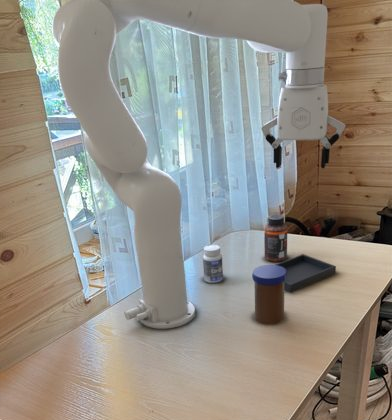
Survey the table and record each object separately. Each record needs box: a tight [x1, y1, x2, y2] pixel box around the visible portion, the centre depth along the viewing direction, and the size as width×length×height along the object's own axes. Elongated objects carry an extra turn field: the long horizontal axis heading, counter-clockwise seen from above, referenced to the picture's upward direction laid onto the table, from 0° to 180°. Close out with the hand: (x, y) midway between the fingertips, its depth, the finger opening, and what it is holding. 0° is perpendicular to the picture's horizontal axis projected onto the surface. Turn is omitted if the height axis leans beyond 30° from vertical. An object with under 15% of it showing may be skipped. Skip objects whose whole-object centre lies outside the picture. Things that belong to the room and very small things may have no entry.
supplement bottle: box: [263, 214, 288, 263], centre depth 134 cm, size 6×6×11 cm
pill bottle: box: [202, 244, 224, 284], centre depth 127 cm, size 5×5×8 cm
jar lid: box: [251, 264, 287, 285], centre depth 105 cm, size 7×7×2 cm
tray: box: [274, 253, 337, 293], centre depth 127 cm, size 15×11×2 cm
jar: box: [253, 280, 286, 325], centre depth 108 cm, size 6×6×10 cm
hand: (300, 166), depth 112 cm, fingers open, 9 cm apart
